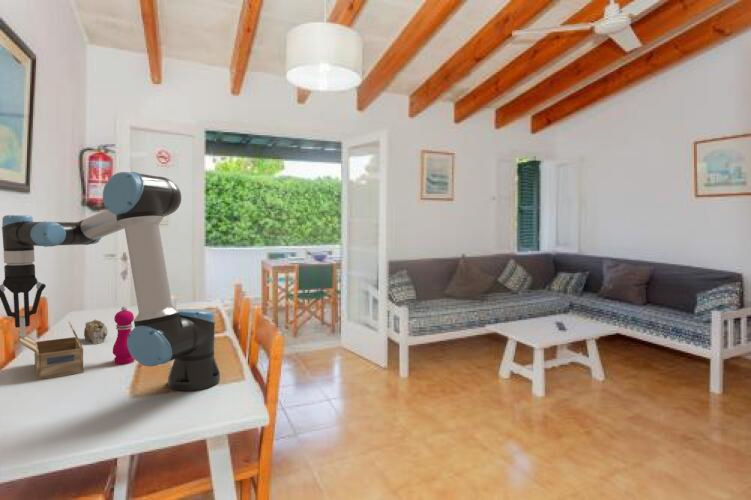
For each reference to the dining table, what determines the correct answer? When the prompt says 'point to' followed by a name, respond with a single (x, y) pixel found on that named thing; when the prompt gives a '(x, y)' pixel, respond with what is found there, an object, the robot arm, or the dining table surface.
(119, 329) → the pepper mill
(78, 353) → the carton
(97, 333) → the rock
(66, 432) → the dining table surface
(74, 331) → the flap right
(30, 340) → the flap left
